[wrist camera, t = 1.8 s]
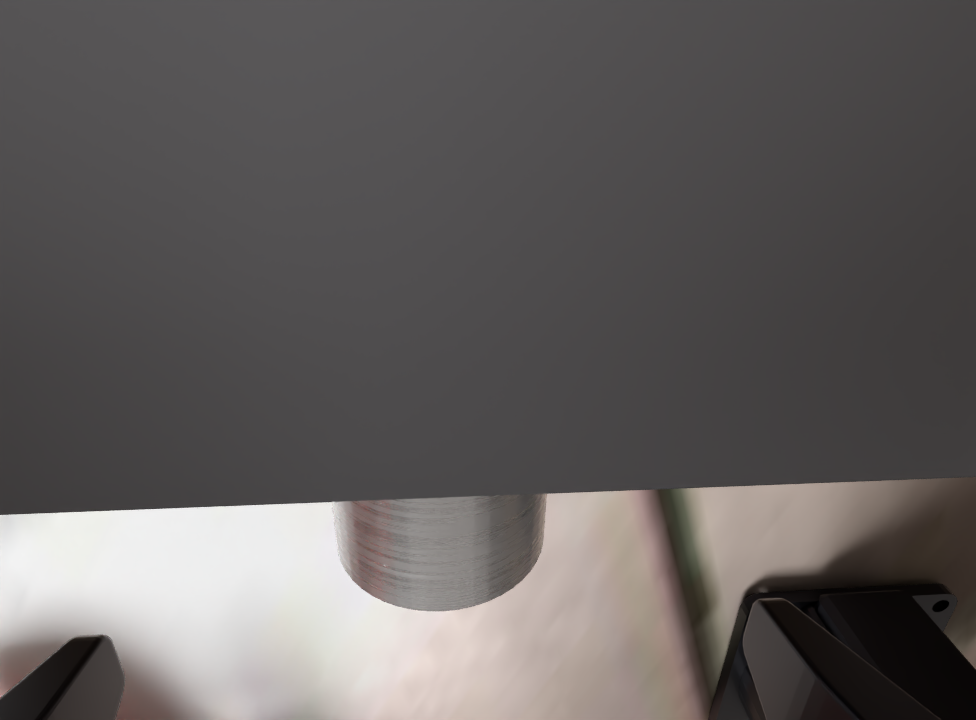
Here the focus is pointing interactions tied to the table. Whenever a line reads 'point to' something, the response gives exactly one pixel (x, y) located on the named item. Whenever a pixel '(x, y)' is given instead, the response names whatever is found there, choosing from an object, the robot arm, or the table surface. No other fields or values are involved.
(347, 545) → the steel pipe
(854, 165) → the dark gray block
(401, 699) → the table surface
